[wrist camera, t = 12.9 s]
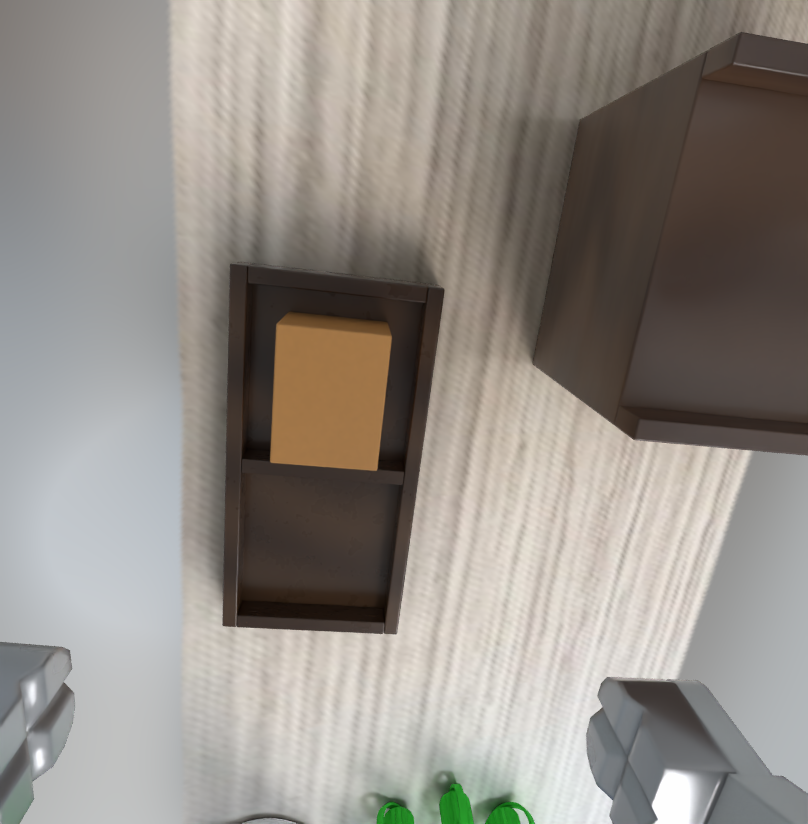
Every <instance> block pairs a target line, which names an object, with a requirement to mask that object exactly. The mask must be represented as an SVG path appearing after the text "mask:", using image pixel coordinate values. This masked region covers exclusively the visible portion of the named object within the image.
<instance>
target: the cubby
mask: <svg viewBox="0 0 808 824" xmlns="http://www.w3.org/2000/svg"><path fill="white" fill-rule="evenodd" d="M533 365H534V366H536V367H537V368H538V369H540V370H541V371H542V372H544V373H545V374H546V375H548V376H549V377H550V378H552V379H553V380H554V381H556V382H557V383H558V384H560V385H561V386H562V387H564V388H565V389H567V390H568V391H569V392H571V393H572V394H573V395H575V396H576V397H577V398H579V399H580V400H581V401H583V402H584V403H585V404H587V405H588V406H589V407H591V408H592V409H593V410H595V411H596V412H597V413H599V414H600V415H601V416H603V417H604V418H605V419H607V420H608V421H609V422H611V423H612V424H614V425H615V426H616V427H617V428H619V429H620V430H621V431H623V432H624V433H625V434H627V435H628V436H629V437H631V438H632V439H633V440H640V441H651V442H663V443H674V444H685V445H696V446H707V447H719V448H730V449H741V450H752V451H763V452H774V453H786V454H797V455H808V44H805V43H800V42H794V41H788V40H783V39H777V38H771V37H766V36H760V35H755V34H749V33H743V32H741V33H738V34H736V35H735V36H733V37H731V38H729V39H727V40H725V41H724V42H722V43H720V44H718V45H716V46H714V47H712V48H711V49H709V50H708V51H706V52H704V53H702V54H700V55H698V56H696V57H694V58H693V59H691V60H689V61H687V62H685V63H683V64H682V65H680V66H678V67H676V68H674V69H672V70H670V71H669V72H667V73H665V74H663V75H661V76H659V77H658V78H656V79H654V80H652V81H650V82H648V83H646V84H645V85H643V86H641V87H639V88H637V89H635V90H634V91H632V92H630V93H628V94H626V95H624V96H622V97H621V98H619V99H617V100H615V101H613V102H611V103H610V104H608V105H606V106H604V107H602V108H600V109H598V110H597V111H595V112H593V113H591V114H589V115H587V116H585V117H584V118H582V119H580V122H579V128H578V133H577V138H576V143H575V148H574V153H573V159H572V164H571V169H570V174H569V179H568V184H567V189H566V195H565V200H564V205H563V210H562V215H561V220H560V225H559V231H558V236H557V241H556V246H555V251H554V256H553V262H552V267H551V272H550V277H549V282H548V287H547V292H546V298H545V303H544V308H543V313H542V318H541V323H540V328H539V334H538V339H537V344H536V349H535V354H534V359H533Z"/></svg>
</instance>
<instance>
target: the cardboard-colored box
mask: <svg viewBox="0 0 808 824" xmlns="http://www.w3.org/2000/svg"><path fill="white" fill-rule="evenodd" d="M391 342H392V335H391V332H390V329H389V325H388V322H383V321H373V320H364V319H355V318H345V317H336V316H327V315H317V314H308V313H298V312H288V313H287V314H286V315H285V316H284V317H283V318H282V319H281V320H280V321H279V322H278V323H277V324H276V340H275V362H274V384H273V405H272V427H271V449H270V462H271V463H281V464H294V465H307V466H320V467H333V468H346V469H359V470H372V471H377V468H378V459H379V450H380V441H381V432H382V423H383V414H384V405H385V396H386V387H387V378H388V369H389V360H390V351H391Z"/></svg>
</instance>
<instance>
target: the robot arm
mask: <svg viewBox="0 0 808 824" xmlns="http://www.w3.org/2000/svg"><path fill="white" fill-rule="evenodd" d="M71 670H72V663H71V656H70V650H68V649H66V648H63V647H55V646H43V645H31V644H18V643H6V642H0V824H19V823H20V822H21V820H22V818H23V817H24V815H25V813H26V812H27V810H28V808H29V806H30V805H31V803H32V802H33V800H34V794H33V784H32V782H33V781H34V780H35V779H37V778H38V777H39V776H41V775H42V774H44V773H45V772H46V771H48V770H49V769H50V768H52V767H53V766H54V764H55V762H56V761H57V759H58V757H59V755H60V754H61V752H62V750H63V748H64V746H65V744H66V741H67V738H68V735H69V732H70V729H71V727H72V724H73V717H74V710H75V699H74V693H73V691H72V690H71V689H70V688H69V687H68V686H67V685H66V684H65V683H64V680H65V679H66V677H67V676H68V674H69V673H70V671H71ZM597 696H598V698H599V700H600V702H601V705H602V708H601V709H600V710H599V711H598V712H597V713H595V714H594V715H593V716H592V717H591V718H590V722H589V726H588V730H587V733H586V740H587V756H588V760H589V764H590V769H591V771H592V774H593V776H594V779H595V781H596V784H597V786H598V787H599V788H600V789H601V790H602V791H604V792H605V793H606V794H607V795H608V796H609V797H610V798H611V799H612V800H613V803H612V807H611V811H610V815H609V816H610V818H611V820H612V823H613V824H808V793H806V792H805V791H803V790H802V789H801V788H799V787H798V786H796V785H795V784H793V783H792V782H791V781H789V780H788V779H786V778H785V777H783V776H774V775H772V773H771V772H770V771H769V769H768V768H767V767H766V765H765V764H764V763H763V761H762V760H761V759H760V757H759V756H758V755H757V753H756V752H755V751H754V749H753V748H752V747H751V745H750V744H749V743H748V741H747V740H746V739H745V737H744V736H743V735H742V733H741V732H740V731H739V729H738V728H737V727H736V725H735V724H734V723H733V721H732V720H731V719H730V717H729V716H728V714H727V713H726V712H725V710H724V709H723V708H722V706H721V705H720V704H719V702H718V701H717V700H716V698H715V697H714V696H713V694H712V693H711V692H710V690H709V689H708V688H707V687H706V686H705V685H704V684H702V683H701V682H699V681H697V680H672V679H668V680H663V679H644V678H622V677H607V678H606V679H605V680H604V681H603V682H602V683H601V686H600V689H599V692H598V695H597Z"/></svg>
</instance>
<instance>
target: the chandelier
mask: <svg viewBox="0 0 808 824" xmlns="http://www.w3.org/2000/svg"><path fill="white" fill-rule="evenodd" d="M439 807H440V815H441V822H442V824H474V822H473V817H472V811H471V806H470V801H469V798H468V797H467V795H466V794H465V793H464V792H463V789H462V786H461V785H460V784H451V786H450V789H449V792H448V793H446V794H444V795H443V796H442V798H441V800H440V803H439ZM386 808H389V809H390V810H389V811H388V812H387V813H386V814H385V816H384V813H385V810H386ZM512 808H517V809H520V810H522V811H524V813H525V814H526V816H527V818H528V821H529V824H535V823H534V820H533V818H532V816H531V815H530V813H529V812H528V811H527V810H526V809H525V808H524V807H523V806H521V805H520V804H518V803H515V802H506V803H503V804H501V805H499V806H498V807H496V808H495V809H494V810H493V811H492V813H491V814H490V815H489V817H488V819H487V820H486V823H485V824H520V821H519V817H518V814H517V813H516V812H515V810H514V809H512ZM395 816H396V817H395ZM377 824H414V817H413V815H412V813H411V812H410V811H409V810H408V809H406V808H403V807H401V806H400V805H398V804H397V803H395V802H389V803H387V804H385V805H384V806H382V807H381V808H380V810H379V812H378V815H377Z"/></svg>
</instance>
